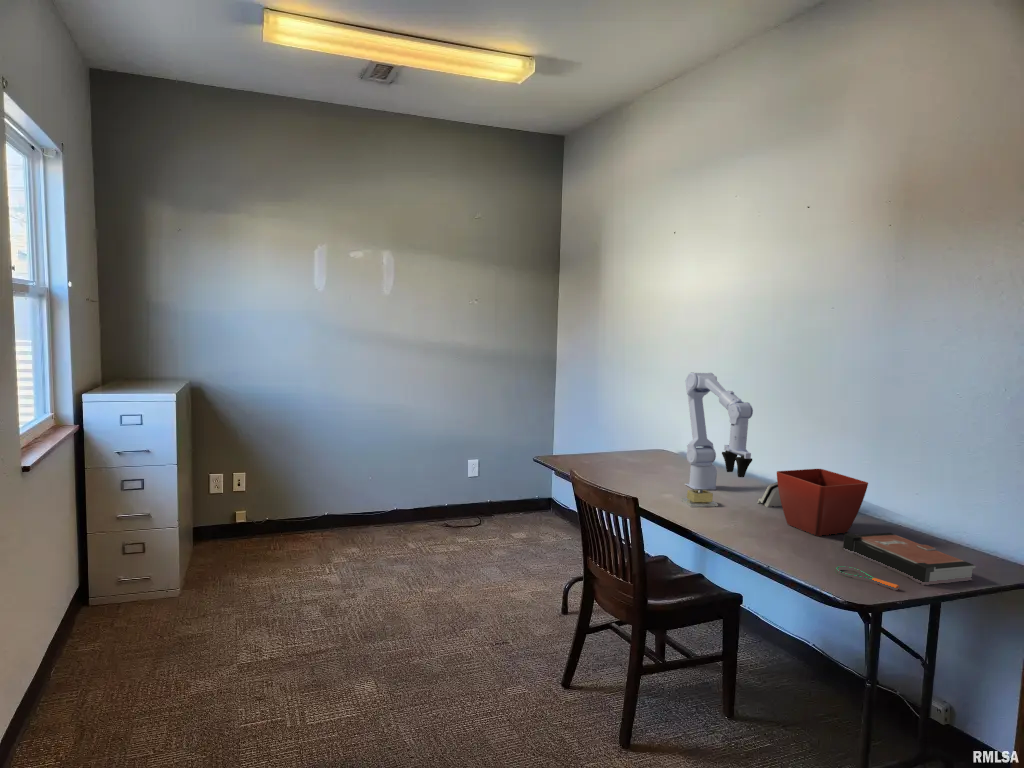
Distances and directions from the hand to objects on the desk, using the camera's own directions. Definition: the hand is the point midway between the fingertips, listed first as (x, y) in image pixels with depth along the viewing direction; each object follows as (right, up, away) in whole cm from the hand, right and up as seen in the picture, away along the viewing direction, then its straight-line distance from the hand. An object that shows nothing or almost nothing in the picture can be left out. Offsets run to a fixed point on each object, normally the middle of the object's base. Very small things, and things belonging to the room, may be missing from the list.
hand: (735, 474), depth 237 cm
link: (-14, -8, -4) cm, 17 cm away
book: (+28, -18, -55) cm, 64 cm away
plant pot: (+16, -14, -27) cm, 34 cm away
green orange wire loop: (+10, -18, -68) cm, 71 cm away
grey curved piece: (+17, -11, +1) cm, 20 cm away
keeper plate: (-14, -10, -4) cm, 17 cm away
